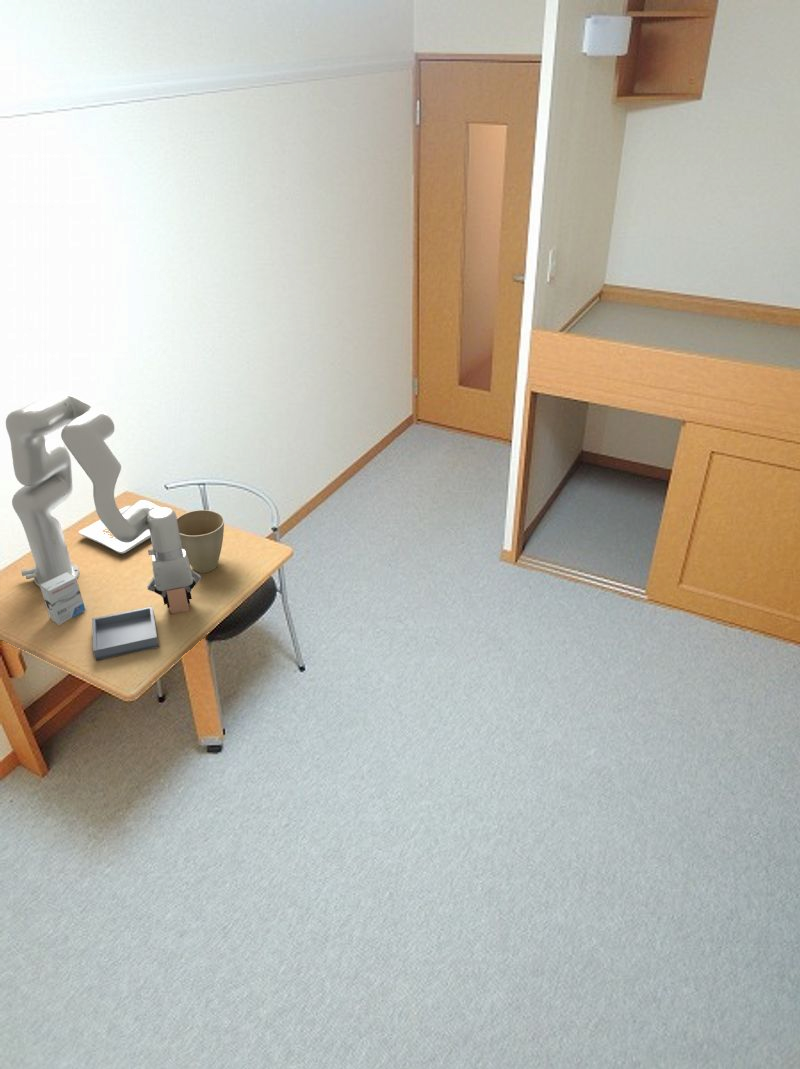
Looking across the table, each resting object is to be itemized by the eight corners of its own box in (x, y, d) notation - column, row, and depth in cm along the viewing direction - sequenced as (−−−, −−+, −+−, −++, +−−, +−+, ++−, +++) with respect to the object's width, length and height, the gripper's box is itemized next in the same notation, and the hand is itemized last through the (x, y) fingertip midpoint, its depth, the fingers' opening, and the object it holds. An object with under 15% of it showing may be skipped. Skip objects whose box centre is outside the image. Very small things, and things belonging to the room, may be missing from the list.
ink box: (76, 603, 216) (67, 570, 210) (86, 610, 214) (76, 577, 207) (49, 618, 211) (38, 584, 204) (58, 625, 208) (47, 591, 202)
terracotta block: (171, 613, 213) (166, 591, 208) (169, 603, 217) (164, 581, 212) (189, 610, 214) (184, 587, 210) (186, 599, 218) (182, 577, 214)
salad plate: (173, 530, 251) (172, 521, 249) (123, 560, 235) (121, 551, 234) (130, 512, 260) (128, 503, 258) (78, 540, 245) (76, 531, 243)
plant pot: (192, 586, 224) (184, 541, 215) (173, 562, 234) (165, 519, 225) (238, 569, 231) (232, 525, 223) (217, 547, 241) (211, 504, 233)
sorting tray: (95, 660, 196) (93, 650, 194) (94, 628, 207) (91, 618, 205) (159, 647, 201) (156, 637, 199) (154, 615, 212) (152, 606, 210)
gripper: (136, 564, 200) (148, 617, 209) (201, 552, 204) (210, 604, 214) (134, 549, 205) (146, 601, 215) (198, 537, 210) (206, 589, 220)
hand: (178, 602), depth 215 cm, fingers closed on terracotta block, 5 cm apart
